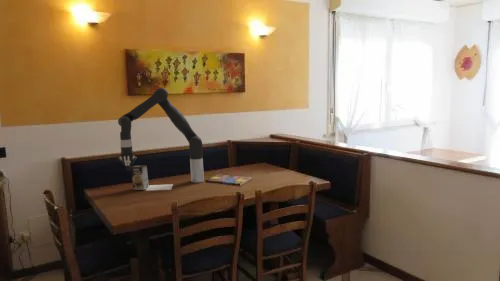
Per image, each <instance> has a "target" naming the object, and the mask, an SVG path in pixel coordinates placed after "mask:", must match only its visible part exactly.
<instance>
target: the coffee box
mask: <svg viewBox="0 0 500 281" xmlns="http://www.w3.org/2000/svg"><path fill="white" fill-rule="evenodd" d="M147 167H148V165H145V164H144V165H140V164H138V165H131V166H130V173H131V181H132V182H131V183H132V189H133V190H136V191H139V190H141V191H146V189H147V188H149V177H148V168H147Z"/></svg>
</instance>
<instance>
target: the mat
mask: <svg viewBox="0 0 500 281" xmlns="http://www.w3.org/2000/svg"><path fill="white" fill-rule="evenodd" d="M173 186H174V184H173V183H171V184H152V185H151V184H150V185H149V188H147V189H145V192H151V191H154V192H155V191H171V190H172V188H173Z"/></svg>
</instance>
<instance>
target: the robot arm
mask: <svg viewBox="0 0 500 281" xmlns="http://www.w3.org/2000/svg"><path fill="white" fill-rule="evenodd" d="M168 96H169V92H168V90H167V89H165V88H163V87H160V88H156V90H155V91H154V92H153V94H152V95H151V96H150V97H148V98H147V99H146V100H144V101H143V102H141V103H140V104H138V105H137V106H135V107H134V108H132V109H131V110H130V111H129V112H127V113H125V114H123V115H121V116H120V117H119V118H118V120H117V123H118V125H119V126H120V130H121V131H120V132H119V138H120V142H119V144H120V156H119V157H117V160H118V161H119V162H120V163H121V165H123V166H125V171H126V172H129V171H130V172H131V166H133V164H134V163H135V161H136V159H137V158H138V157H137V156H135V155H134V152H133V141H132V132H131V131H132V123H133V121H137V120H138V119H139V118H141V117H142V116H144V115H145V114H146V113H147V112H148V111H149V110H151V108H153V107H154V106H156V105H159V106H160V108H161V110H163V111H164V113H165V114H166V116H167V117H168V119H169V120H170V122H171V123H172V124H173V125H174V126H175V128H176V129H177V130H179V132H180V133H181V134H182V135H183V136H184V138H186V141H187V142H188V146H189V163H190V166H189V168H190V182H191V183H195V184H196V183H203V182H204V180H205V177H204V175H205V174H204V159H203V158H204V157H203V155H204V154H203V141H202V138H200V136H199V135H197V133H195V131H194V130H193V128H192V127H191V125H190V123H189V121H188V120H187V119H186V117H185V116H184V114H183V113H182V112H181V111H180V110H179V109H178V108H177V107H176V106H174V105H173V103H171V101H170V99H169V98H168Z"/></svg>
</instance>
